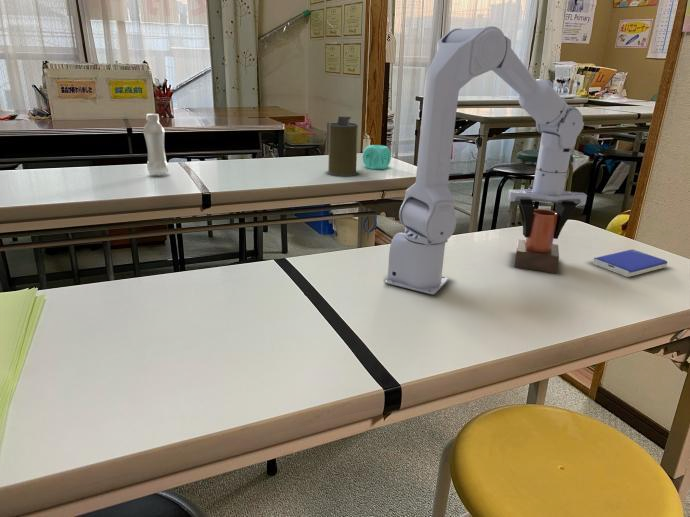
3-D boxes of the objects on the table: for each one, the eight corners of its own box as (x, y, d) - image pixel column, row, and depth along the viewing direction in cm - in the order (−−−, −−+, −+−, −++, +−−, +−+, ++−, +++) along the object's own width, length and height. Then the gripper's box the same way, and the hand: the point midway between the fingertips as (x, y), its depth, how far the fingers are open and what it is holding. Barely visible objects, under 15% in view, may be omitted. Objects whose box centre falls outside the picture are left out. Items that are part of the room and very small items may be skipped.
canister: (359, 171, 189) (361, 115, 182) (352, 177, 180) (354, 118, 173) (331, 169, 192) (332, 114, 185) (323, 174, 182) (323, 116, 175)
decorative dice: (361, 167, 197) (362, 146, 195) (373, 164, 203) (374, 144, 201) (379, 170, 193) (380, 148, 190) (390, 167, 199) (391, 146, 196)
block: (513, 267, 104) (516, 251, 103) (515, 254, 111) (518, 239, 110) (556, 273, 102) (559, 256, 100) (555, 260, 109) (558, 244, 107)
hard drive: (630, 248, 112) (593, 256, 107) (668, 260, 106) (630, 270, 100) (629, 255, 113) (592, 263, 107) (666, 267, 106) (628, 277, 101)
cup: (528, 251, 103) (534, 215, 100) (522, 243, 108) (528, 208, 105) (554, 252, 102) (561, 216, 100) (547, 244, 107) (553, 209, 105)
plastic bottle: (165, 177, 170) (159, 115, 163) (145, 177, 170) (138, 114, 163) (171, 173, 176) (166, 113, 169) (152, 173, 176) (145, 112, 169)
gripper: (518, 172, 96) (507, 240, 101) (597, 176, 95) (583, 245, 100) (510, 165, 103) (500, 230, 108) (584, 168, 102) (571, 233, 107)
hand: (539, 236), depth 104 cm, fingers closed on cup, 5 cm apart
